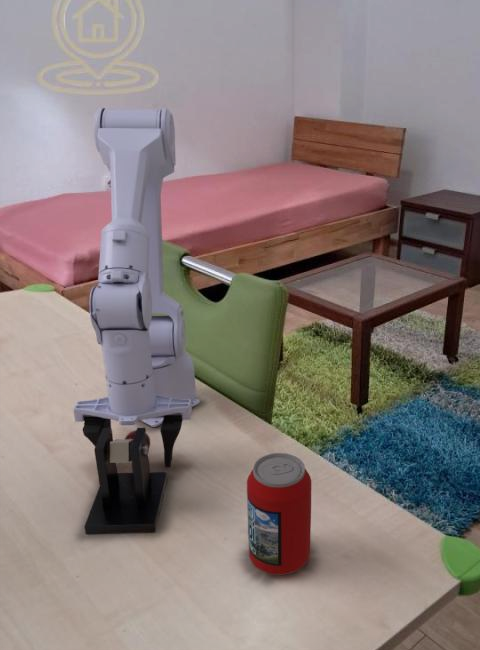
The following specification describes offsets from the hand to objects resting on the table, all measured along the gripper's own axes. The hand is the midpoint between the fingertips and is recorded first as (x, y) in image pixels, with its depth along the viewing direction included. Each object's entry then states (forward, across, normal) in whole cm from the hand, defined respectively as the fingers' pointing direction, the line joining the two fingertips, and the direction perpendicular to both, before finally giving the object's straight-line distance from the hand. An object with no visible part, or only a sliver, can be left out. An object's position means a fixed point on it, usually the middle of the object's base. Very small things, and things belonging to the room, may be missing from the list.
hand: (139, 463), depth 84 cm
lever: (-4, 0, -5) cm, 6 cm away
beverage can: (+1, +18, -17) cm, 25 cm away
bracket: (+1, 0, -8) cm, 8 cm away
